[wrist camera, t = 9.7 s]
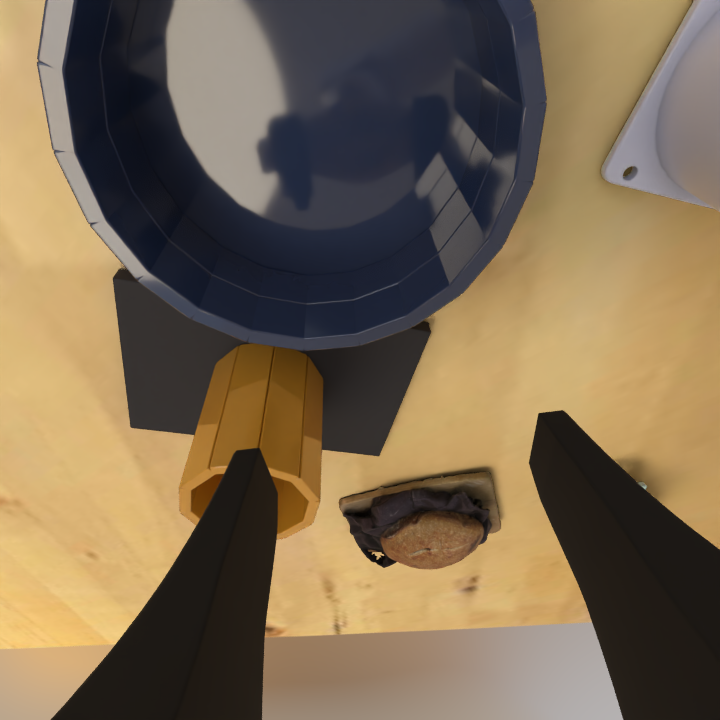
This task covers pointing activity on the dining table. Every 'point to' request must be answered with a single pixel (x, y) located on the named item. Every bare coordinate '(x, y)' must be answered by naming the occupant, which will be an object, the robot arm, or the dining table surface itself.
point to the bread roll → (424, 520)
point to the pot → (297, 152)
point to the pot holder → (207, 345)
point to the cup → (260, 431)
